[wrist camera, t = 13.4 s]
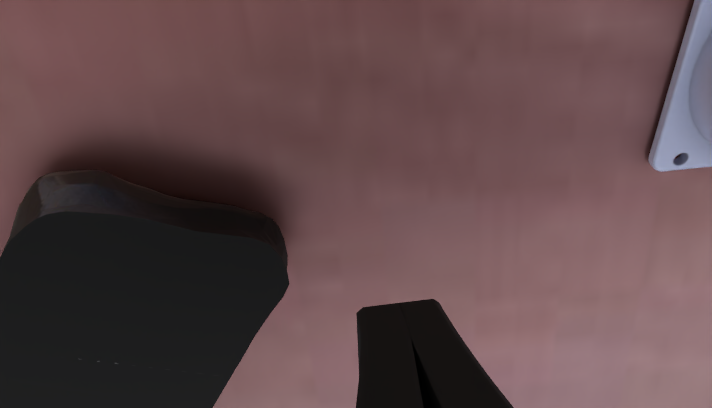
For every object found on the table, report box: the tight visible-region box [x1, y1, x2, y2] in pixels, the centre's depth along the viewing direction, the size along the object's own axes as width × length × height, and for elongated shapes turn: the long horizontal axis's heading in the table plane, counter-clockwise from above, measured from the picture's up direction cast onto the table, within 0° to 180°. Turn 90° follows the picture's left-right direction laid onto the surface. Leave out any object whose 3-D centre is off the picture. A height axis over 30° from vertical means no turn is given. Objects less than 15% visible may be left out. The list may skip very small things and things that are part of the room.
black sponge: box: [0, 170, 289, 408], centre depth 23 cm, size 16×8×4 cm, turn 152°
